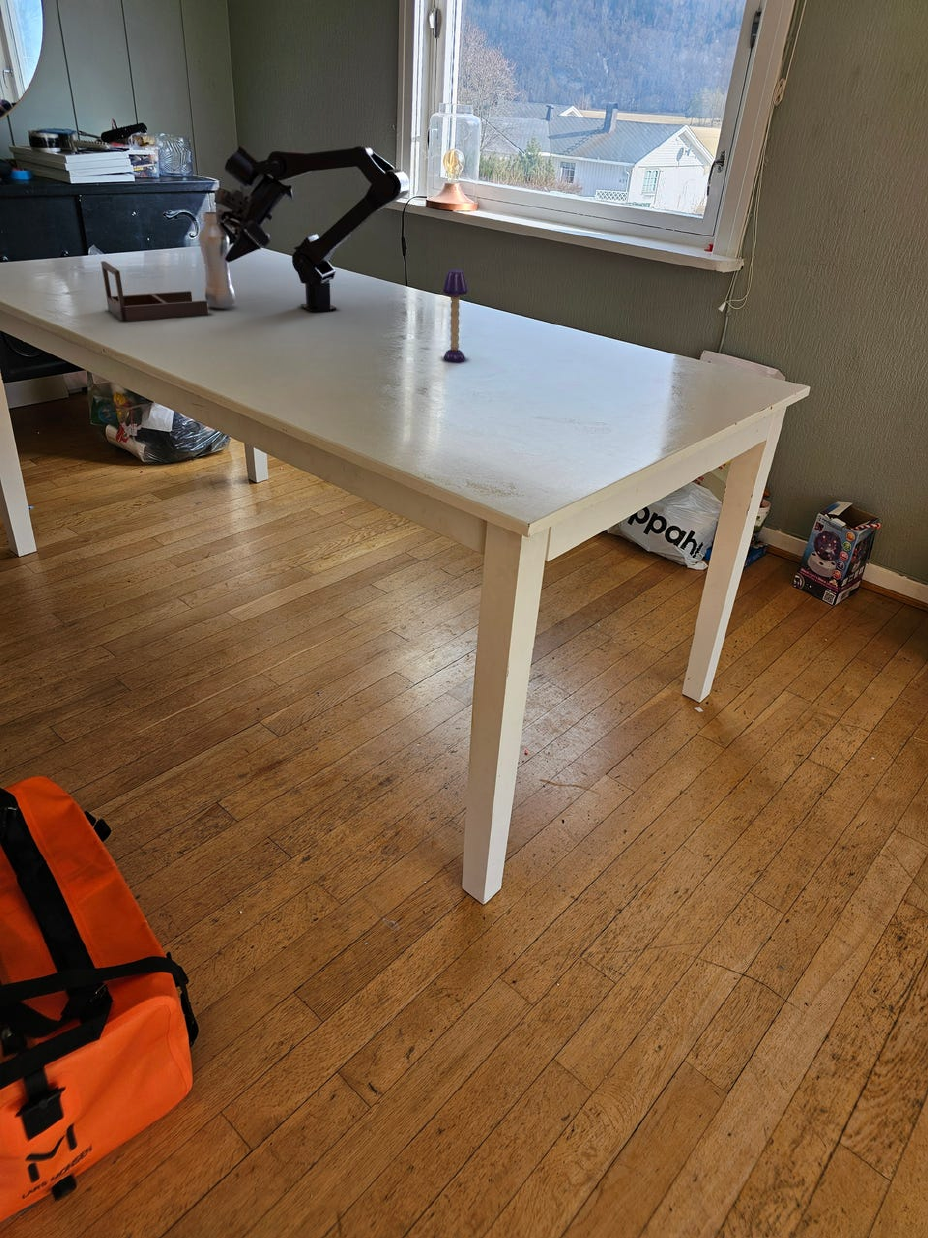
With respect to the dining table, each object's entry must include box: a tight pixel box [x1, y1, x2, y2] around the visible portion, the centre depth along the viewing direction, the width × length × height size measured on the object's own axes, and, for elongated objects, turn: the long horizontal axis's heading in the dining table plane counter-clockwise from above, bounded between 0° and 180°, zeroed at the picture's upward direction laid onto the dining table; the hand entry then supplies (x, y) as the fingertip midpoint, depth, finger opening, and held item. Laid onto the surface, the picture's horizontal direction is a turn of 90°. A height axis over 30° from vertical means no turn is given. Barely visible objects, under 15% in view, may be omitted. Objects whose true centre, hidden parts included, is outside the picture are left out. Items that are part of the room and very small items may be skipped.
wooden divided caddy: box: [100, 260, 209, 323], centre depth 187 cm, size 11×19×10 cm, turn 124°
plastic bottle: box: [198, 211, 236, 310], centre depth 191 cm, size 6×7×20 cm
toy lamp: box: [442, 269, 468, 363], centre depth 166 cm, size 5×5×17 cm
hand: (219, 257), depth 191 cm, fingers open, 9 cm apart
